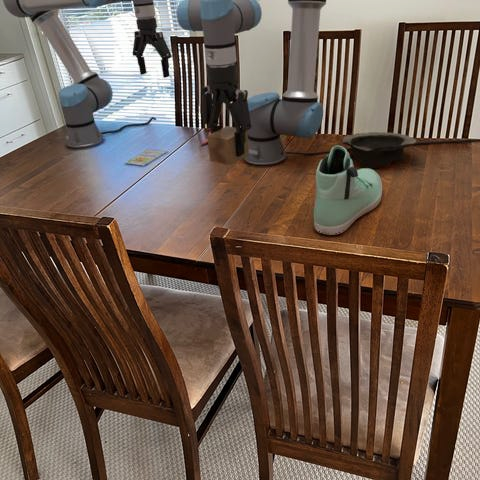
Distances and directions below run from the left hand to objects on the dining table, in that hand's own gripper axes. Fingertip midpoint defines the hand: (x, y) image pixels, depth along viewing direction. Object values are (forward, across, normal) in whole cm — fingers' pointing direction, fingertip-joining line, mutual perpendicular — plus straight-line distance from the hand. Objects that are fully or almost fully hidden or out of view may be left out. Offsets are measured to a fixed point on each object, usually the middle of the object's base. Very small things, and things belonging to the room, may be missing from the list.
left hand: (154, 75), depth 193 cm
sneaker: (+25, +97, -19) cm, 102 cm away
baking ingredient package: (+25, +13, -22) cm, 36 cm away
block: (+7, +71, -40) cm, 82 cm away
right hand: (+6, +71, -40) cm, 82 cm away
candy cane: (+25, +21, +6) cm, 34 cm away
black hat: (+25, +88, +19) cm, 94 cm away
